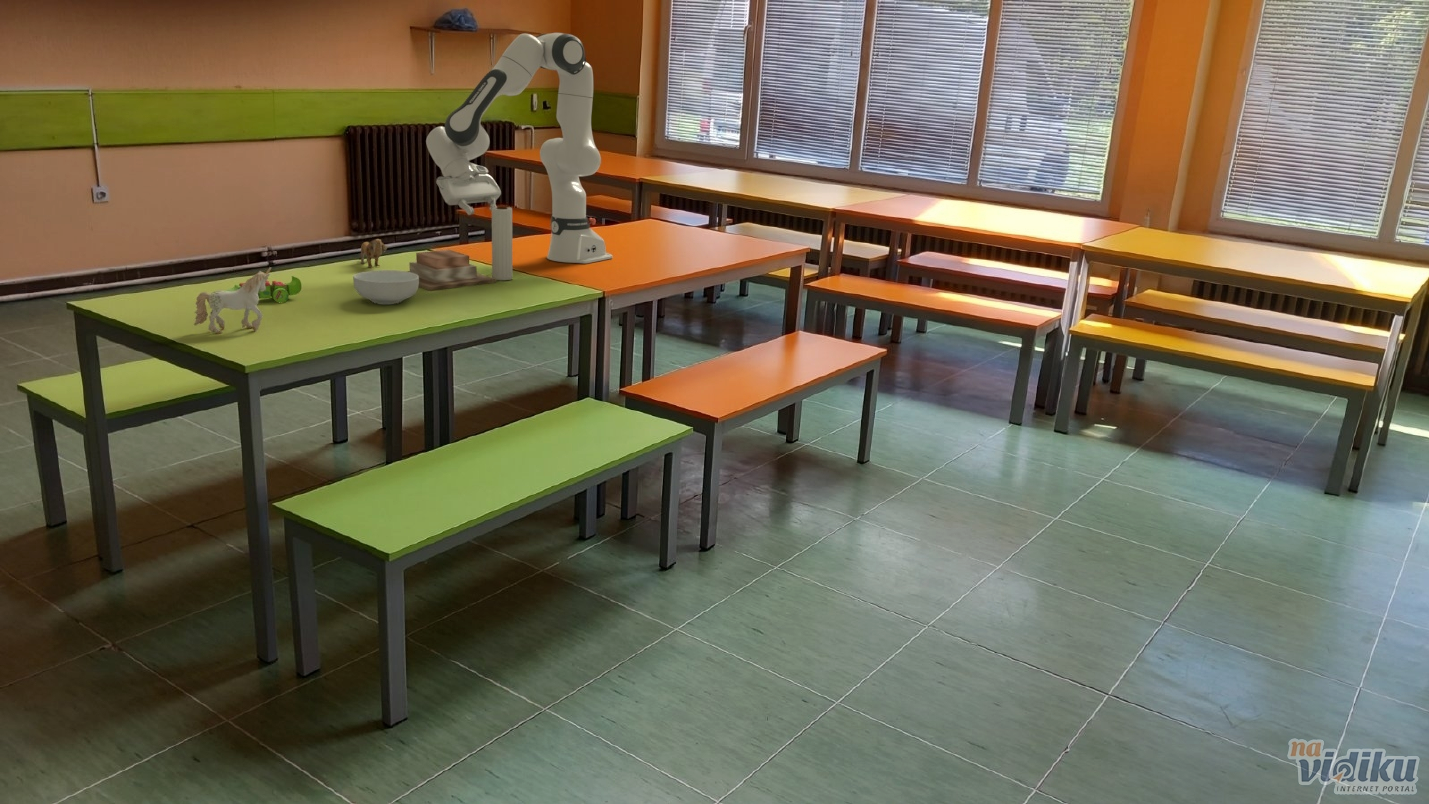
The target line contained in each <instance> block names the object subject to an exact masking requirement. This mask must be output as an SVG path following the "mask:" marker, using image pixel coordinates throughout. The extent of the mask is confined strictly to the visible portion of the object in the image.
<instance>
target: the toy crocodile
mask: <svg viewBox="0 0 1429 804" xmlns="http://www.w3.org/2000/svg"><path fill="white" fill-rule="evenodd" d="M271 282H272V283H271ZM271 282H270V281H268V280H267V282H266V283H265V287H266V290H264V291H260V289H259V292H258V298H259V300H260V299H261V300H262V299H271V298H272V299H273V300H274V302H276V303H278V304H282V303H281V302H284V303H286V302H287V301H288V300H289V297H290V296H294V295H298V294H300V292H301V291H302V281H301V280H300V279H299V277H296V276H295V275H291V281H290V282H284V283H283V282H281V281H277V280H272V281H271ZM244 283H245V282H240V283H239V284H238V283H237V284H234V287H231V288H228V289H225V290H224V291H236V290H238V289H240V288H241V287H242V285H243V284H244ZM279 302H280V303H279Z"/></svg>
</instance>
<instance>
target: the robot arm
mask: <svg viewBox="0 0 1429 804" xmlns="http://www.w3.org/2000/svg"><path fill="white" fill-rule="evenodd" d="M540 68H541V69H545V70H551V71H556V72H557V74H558V79H559V83H558V84H559V86H558V92H557V93H558V94H557V106H556V114H555V116H556V117H555V118H556V120H557V123H558V124H559V125H560V128H561V132H562V134H561V135H562V137H555V138H550V139H546V140H545V141H544V142H543V143H542V144H541V147H540V150H539V158H540V161H541V163H542V164H543V166H544V167H545V169H546V172H547V176H548V179H549V183H550V188H551V189H550V190H551V198H552V199H551V201H552V203H551V204H552V206H551V207H552V209H551V211H552V212H551V213H552V215H551V217H550V231H551V233H550V234H551V236H550V244H549V248H548V249H549V250H548V254H547V256H546V259H547V260H550V261H553V262H559V263H574V264H575V263H576V264H590V263H594V262H599V261H600V262H601V261H605V260H606V261H607V260H611V259H613V255H612V254H611V253H609V252H607V251H606V243H605V240H604V239H603V237H601V236H600V235H599V234H598V233H597V232H595V230H593V229H592V228H591V226H590V225H592V226H593V225H596V222H597V220H596V219H595V218H592V217H589V218H588V216H587V193H586V191H585V189H584V188H583V186H582V183H581V181H580V177H588V176H592V175H594V174H595V173H597V172H598V171H599V169H600V166H601V164H602V157H601V154H600V152H599V149H598V148H597V146H596V143H595V141H594V136H593V130H592V111H593V102H594V101H593V98H594V73H593V72H594V71H593V67H592V65H590V63H588V62H587V58H586V53H585V47H584V45H583V42H582V41H581V40H580V39H579V38H578V37H577V36H575V35H573V34H569V33H563V32H553V33H542V34H539V35H537V36H535V35H532V34H530V33H521V34H519V35H517V37H515V39H514V40H513V41H512V42H511V43H510V44H509V45H508V46H507V48H506V49H505V51H504V52H503V53H502V55H501V57H499V59H498V61H497V62H496V64H495V65H494V67H493V68H492V69H491V70H490V71H489V72H487V73H486V74H485V75H484V76H483V77H482V79H481V80H480V81H479V82H478V84H477V85H476V86H475V88H474V89H473V90H472V92H471V93H470V94H469V96H468V97H466V99H465V101H464V102H463V103H462V104H461V105H460V106H459V107H457V108H456V109H454V110H453V111H452V112H450V114H449V115H448V116H447V117H446V119H445V122H444V126H443V125H442V126H437V127H434V128H433V129H432V130H431V131H430V132H429V133H428V135H427V137H426V140H425V143H426V147H427V150H428V152H429V155H430V156H431V158H432V160H433V162H434V163H435V165H436V166H437V167H439V169H440V170H441V173H442V176H438V177H437V178H436V179H435V180H436V184H437V185H436V186H437V187H438V188H439V192H440V194H441V196H442V198H443V200H444V202H445V203H446V204H447V205H448V206H457V205H458V206H459V208H460V209H462V210H463V211H465V213H466V214H467V215H468V216H471V215H474V213H475V209H474V208H473V206H470V205H469V204H475V203H476V204H477V203H484V202H487V204H489V205H490V207H489V210H490V212H491V213H492V208H493V207H498V206H497V204H496V203H497V200H498V199H499V198H500V196H501V195H502V191H501V188H500V186H499V185H498V184H497V182H496V180H495V179H494V178H493V177H492V176H491V175H490V174H488V173H489V170H488V168H487V167H485V166H483V165H478V164H476V163H473V162H470V161H472V160H474V159H477V158H480V157H481V156H482V155H484V154H485V153H486V152H487V151H488V149H489V148H490V143H491V141H490V136H489V134H488V132H487V131H486V129H485V128H484V127H483V125H482V124H481V121H482V117H483V115H484V114H485V113H486V112H487V111H488V109H489V107H491V105H492V104H493V102H494V100H496V98H498V97H499V96H502V95H504V96H508V97H514V96H518V95H521V93H523V91H524V90H525V89H526V88H527V87H528V85H530V82H531V81H532V80H533V77H534V76H535V74H536V73H537V71H538V70H539V69H540Z"/></svg>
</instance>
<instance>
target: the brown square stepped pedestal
mask: <svg viewBox="0 0 1429 804" xmlns="http://www.w3.org/2000/svg"><path fill="white" fill-rule="evenodd" d="M415 255H416V257H415V258H416V259H415V261H413V262H412V261H410V262H409V270H406V271H405V272H411V273H414V274H417V275H418V276H419V286H418V288H422V289H423V290H424V289H425V290H428V291H439V290H445V289H455V288H461V287H462V288H463V287H469V286H477V285H485V284H492V283H493V284H494V283H497V280H496V279H494V278H492V276H488V275H486V274H482V273H479V272H477V269H478V268H477V267H478V266H477V265H474V264H471V263H470V255H467V254H464V253H461V252H457V251H455V250H452V249H443V250H441V249H440V250H432V251H422V252H421V251H419V252H416V254H415Z"/></svg>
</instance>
